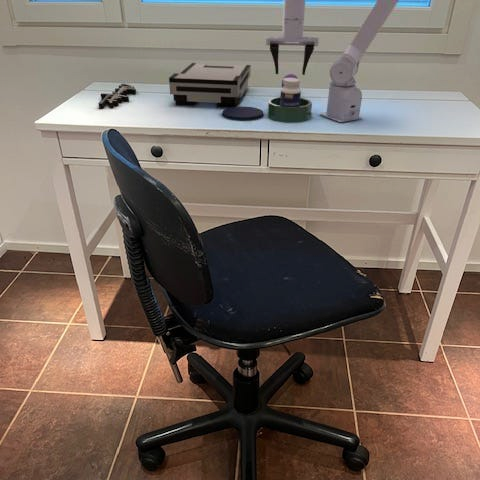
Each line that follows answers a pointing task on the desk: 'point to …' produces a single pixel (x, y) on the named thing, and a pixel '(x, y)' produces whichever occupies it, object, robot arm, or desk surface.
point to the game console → (210, 84)
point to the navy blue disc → (242, 113)
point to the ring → (289, 111)
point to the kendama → (289, 77)
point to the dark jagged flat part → (117, 96)
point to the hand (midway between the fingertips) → (290, 73)
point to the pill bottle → (290, 93)
